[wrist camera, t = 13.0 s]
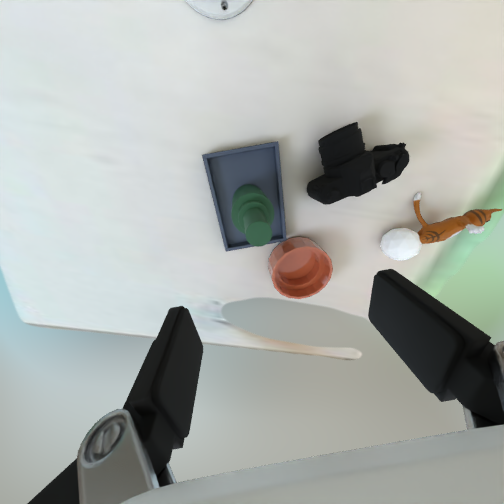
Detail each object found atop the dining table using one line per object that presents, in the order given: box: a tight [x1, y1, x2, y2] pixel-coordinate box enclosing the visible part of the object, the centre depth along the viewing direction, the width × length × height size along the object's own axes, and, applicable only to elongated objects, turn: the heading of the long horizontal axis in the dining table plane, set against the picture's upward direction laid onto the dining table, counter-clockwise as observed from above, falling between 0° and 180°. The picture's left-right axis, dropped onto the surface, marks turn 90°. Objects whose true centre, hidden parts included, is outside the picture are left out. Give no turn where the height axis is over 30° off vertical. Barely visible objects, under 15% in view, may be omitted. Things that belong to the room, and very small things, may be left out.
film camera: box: [307, 122, 409, 204], centre depth 30 cm, size 15×10×9 cm, turn 116°
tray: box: [202, 141, 287, 251], centre depth 35 cm, size 17×12×2 cm
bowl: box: [268, 237, 333, 299], centre depth 40 cm, size 12×12×6 cm
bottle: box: [231, 184, 274, 246], centre depth 28 cm, size 6×6×18 cm
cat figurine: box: [380, 192, 502, 260], centre depth 37 cm, size 13×12×18 cm
